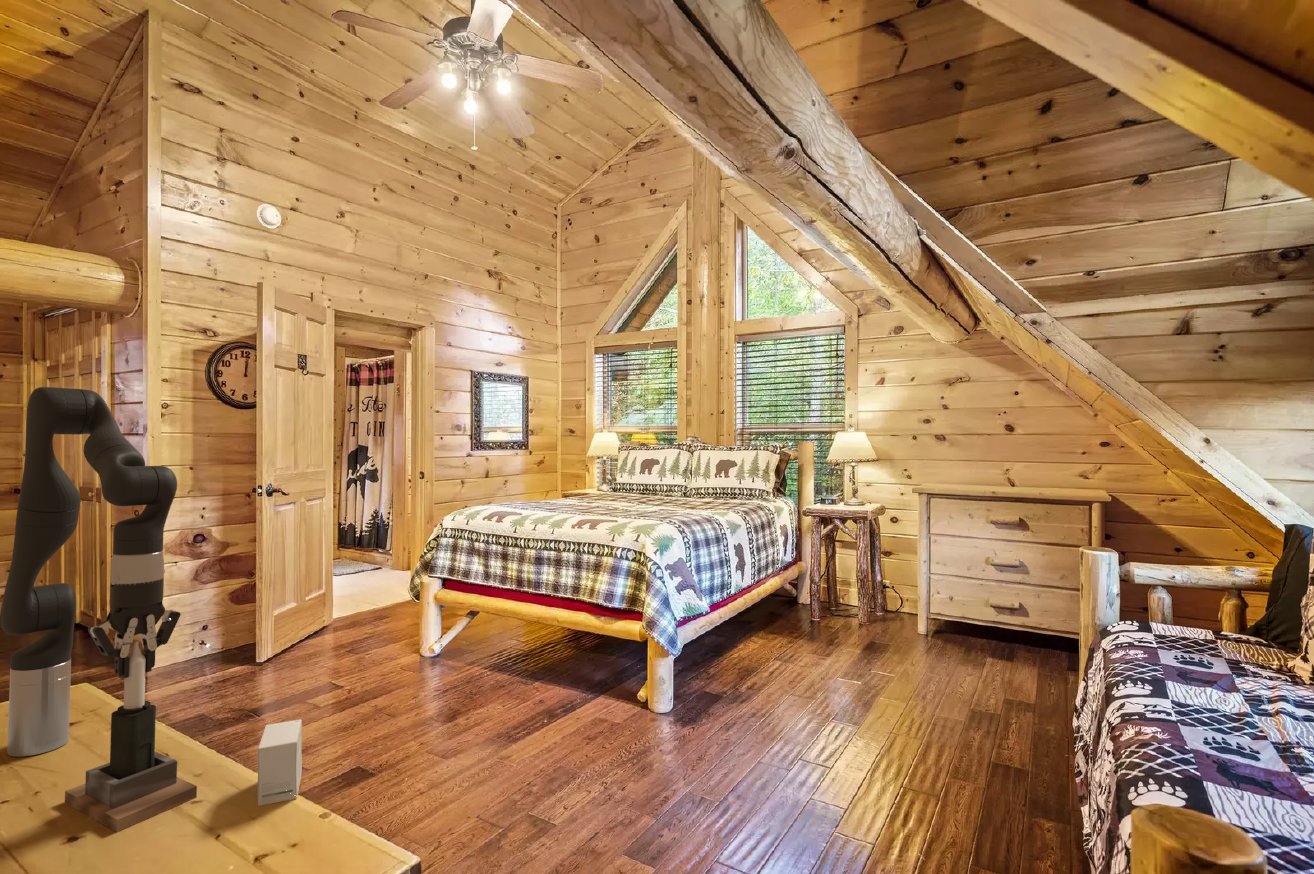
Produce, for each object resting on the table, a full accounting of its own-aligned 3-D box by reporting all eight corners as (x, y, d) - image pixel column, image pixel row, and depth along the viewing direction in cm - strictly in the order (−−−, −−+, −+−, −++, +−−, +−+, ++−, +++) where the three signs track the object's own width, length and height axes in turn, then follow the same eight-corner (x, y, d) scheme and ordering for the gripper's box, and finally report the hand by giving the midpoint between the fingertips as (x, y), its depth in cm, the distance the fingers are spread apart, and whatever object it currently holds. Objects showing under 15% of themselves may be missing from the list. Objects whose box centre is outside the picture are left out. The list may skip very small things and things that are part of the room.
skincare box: (263, 778, 124) (265, 723, 124) (302, 772, 127) (303, 718, 127) (255, 807, 114) (256, 747, 115) (296, 799, 117) (298, 740, 117)
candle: (129, 790, 113) (133, 646, 113) (105, 786, 114) (109, 643, 114) (157, 775, 118) (161, 637, 118) (134, 772, 119) (138, 635, 119)
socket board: (64, 802, 115) (65, 767, 115) (143, 772, 125) (144, 740, 125) (116, 831, 106) (118, 794, 106) (196, 797, 117) (197, 763, 117)
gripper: (170, 568, 124) (167, 659, 124) (78, 582, 112) (75, 682, 112) (192, 573, 121) (189, 666, 121) (100, 587, 108) (97, 691, 108)
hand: (134, 673), depth 116 cm, fingers closed on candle, 3 cm apart
